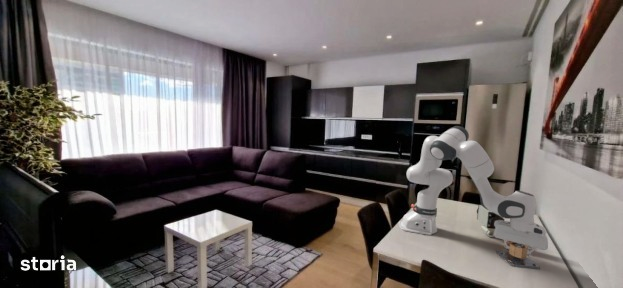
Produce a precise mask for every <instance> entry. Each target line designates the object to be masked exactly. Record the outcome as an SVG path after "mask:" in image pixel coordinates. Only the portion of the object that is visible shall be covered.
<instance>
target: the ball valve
mask: <svg viewBox="0 0 623 288" xmlns="http://www.w3.org/2000/svg"><path fill="white" fill-rule="evenodd" d="M477 205H478V207H477V209H476V213H477V214H476V215H477V216H476V220H478V222H480V223H481V224H482V225H481V226H480V229H481V230H480V231H481V232H482V233H484V234H485V236H487V237H489V238H495V236H494V231H495V226H494V222H495V221H496V220H503V221H505V218H503V217H501V216H499V215H497V214H495V213H493V212H492V211H489V210H487V209H485V208H484V207H483V206H482V204H477Z"/></svg>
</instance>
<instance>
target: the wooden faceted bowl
mask: <svg viewBox="0 0 623 288" xmlns="http://www.w3.org/2000/svg"><path fill="white" fill-rule="evenodd" d="M515 244H516V243H515V242H510V249H508V252H509V254H511V255H512V256H514V257H517V258H521V259H526V258H527V257H528V255H527V251H528V250H529V246H526V245H523V244H521V245H523V248H521V247H517V246H515Z"/></svg>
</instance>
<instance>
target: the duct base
mask: <svg viewBox="0 0 623 288" xmlns="http://www.w3.org/2000/svg"><path fill="white" fill-rule="evenodd" d="M515 246H517V247H521V248H523V245H521V244H519V243H516V244H515ZM497 253H498V254H499V257H500V258H502V259H503V260H504V261H505V260H506V261H507V262H506V261H505V262H506V263H507V264H508V265H509V266H511V267H516V266H517V267H519V268H527V269H535V270H536V269H537V270H541V266H540V265H538V264H537V263H535V262H534V261H533V260H532V259H530V258H529V257H528V256H527V258H526V259H521V258H517V257H514V256H512V255H511V254H509V251H500V250H496V254H497ZM498 254H497V255H498Z"/></svg>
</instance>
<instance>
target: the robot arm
mask: <svg viewBox="0 0 623 288" xmlns="http://www.w3.org/2000/svg"><path fill="white" fill-rule="evenodd" d="M469 138H470V135H469V131H468V130H467V129H466V128H465V127H463V126H461V125H460V126H459V125H455V126H453V127H450V128H448V129H447V130H446V131H444V132H442V133H441V134H440V135H439V136H437V135H429V136H427V137H426V138H425V139H424V141H423V144H422V147H421V153H420V160H419V161H418V162H416V164H414V165H413V166H412V165H411V166H409V167H408V168H407V170H406V179H407V181H409V182H411V183H414V184H417V185H418V184H419V185H424V186H425V185H426V186H428V187H427V188H425V189H422V190H420V191H419V192H418V193H417V199H416V204H413V203H412V204H410V205H411V208H412V210H411V211H409V212H407V213H406V214H404V215H403V218H402V220H399V221H398V226H399V228H400V229H401V230H402V231H405V232H409V233H415V234H421V235H427V236H432V234H436V233H438V228H437V215H438V208H437V203H438V199H439V195H440V193H441V192H442V191H443V190H444V189H445V188H447V187H450V185H451V184H452V183H453V180H454V176H453V173H452V172H451V171H450V170H448V169H445V168H442V167H441V165H442V163H443V161H447V160H450V161H452V160H453V161H454V160H455V159H456V158H458V159H459V160H460V161H461V163H462V164H463V166H464V167H465V170H466V171H467V173H468V174H469V176H470V179H471V180H472V182H473V184H474V186H475V188H476V190H477V191H478V194H479V200H480V205H482V206H483V207H484V208H485V209H487V210H489V211H492V212H493V213H495V214H497V215H499V216H501V217H503V218H504V219H509V221H508V220H504V221H503V220H496V221H495V222H494V226H495V231H494V238H496V239H500V240H503V244H504V246H505V245H506V248H505V250H509V249H510V245H508V244H507V241H511V242H515V243H519V244H523V245H527V247H530V249H528V251H527V256H532V253H534V251H535V250H536V249H539V250H542V251H546V250H548V249H549V248H548V247H549V241H548V237H547V229H546V228H545V227H544V226H542V225H540V224H538V223H536V222H535V215H536V209H537V200H536V199H537V198H536V196H535V195H534V194H531V193H530V192H525V191H523V190H515V192H513V193H512V194H510V195H509V194H508V195H506V196H505V195H502V194H499V192H497V191H495V190H494V189H493V188H492V186H491V184H490V181H489V180H488V178H489V177H490V176H492V175H493V174H494V171H495V166H494V163H493V161H492V159H491V158H490V157H489V155H488V153H487V152H486V150H485V149H484V148H483V147H482V145H480V143H479V142H478V141H476V140H469ZM440 167H441V168H440Z"/></svg>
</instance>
